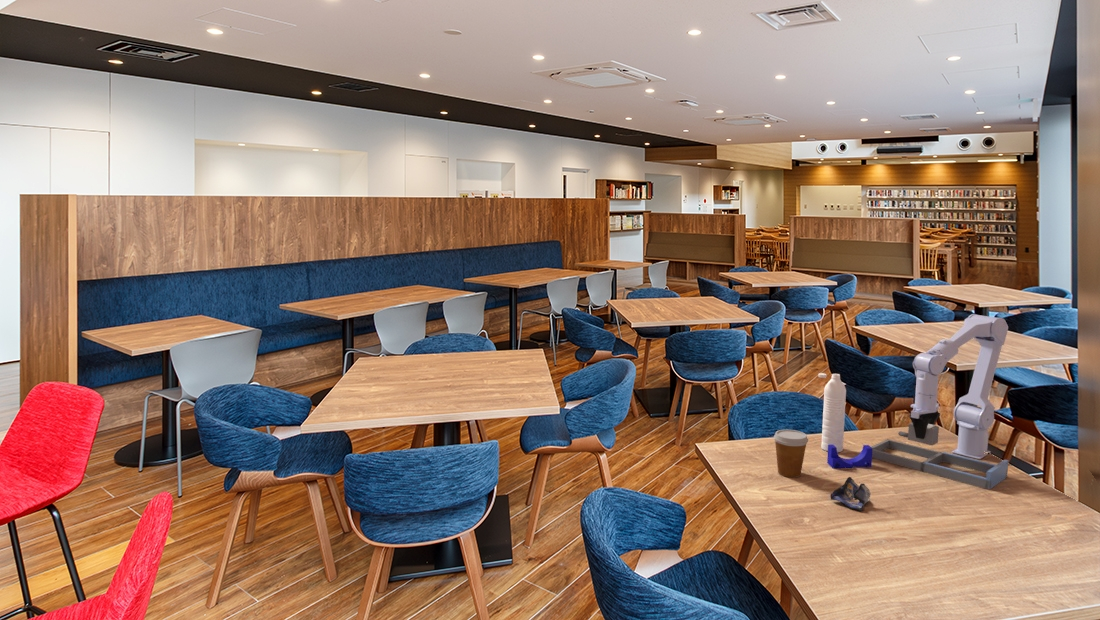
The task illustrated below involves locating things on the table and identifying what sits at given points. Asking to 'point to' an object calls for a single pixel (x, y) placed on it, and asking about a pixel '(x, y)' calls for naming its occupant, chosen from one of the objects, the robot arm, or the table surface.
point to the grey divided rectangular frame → (930, 466)
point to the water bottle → (833, 413)
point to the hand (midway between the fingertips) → (923, 436)
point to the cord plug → (930, 435)
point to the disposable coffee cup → (790, 451)
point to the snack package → (852, 494)
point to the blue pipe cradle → (859, 461)
